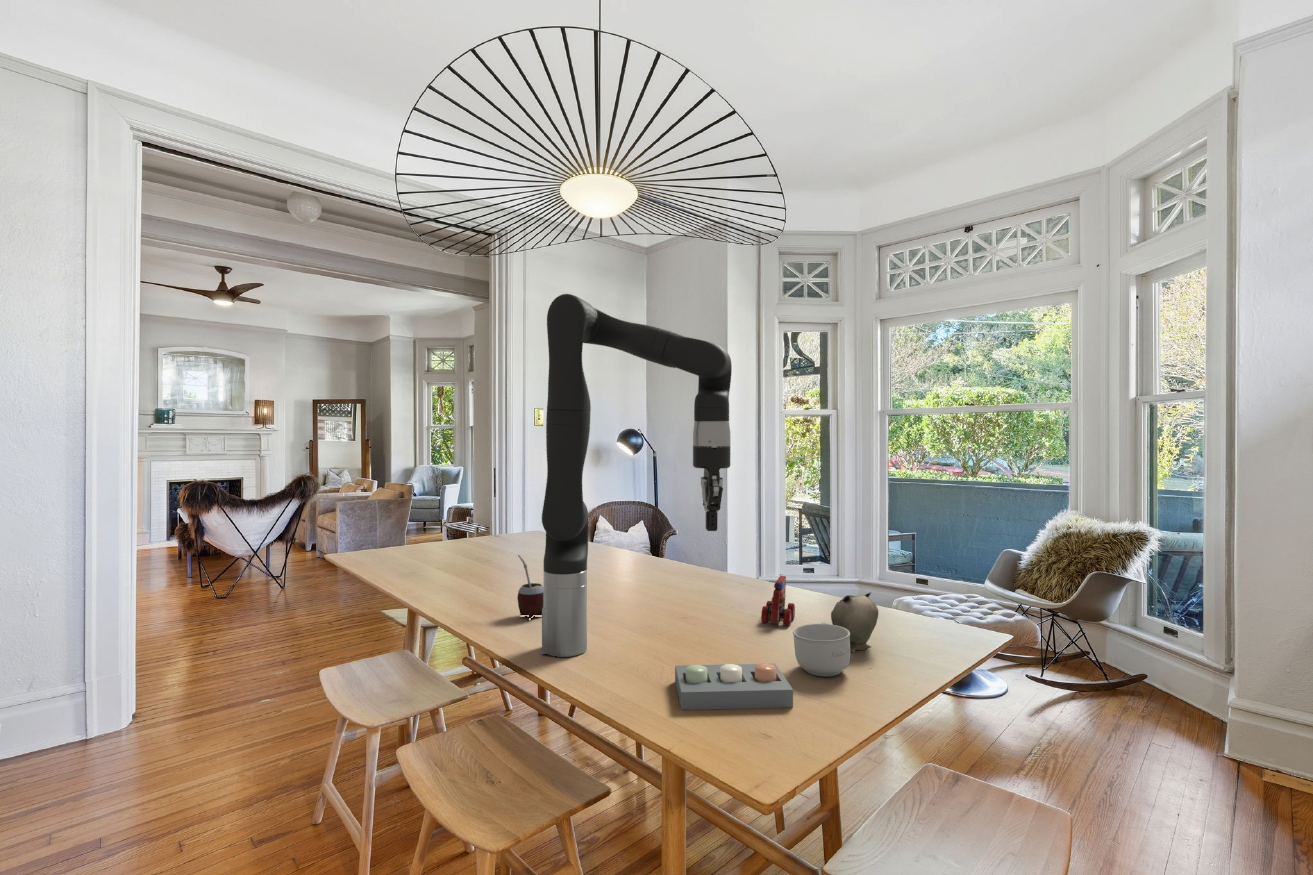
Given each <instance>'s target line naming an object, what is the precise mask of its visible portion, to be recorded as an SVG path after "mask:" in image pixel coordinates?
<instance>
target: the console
mask: <svg viewBox="0 0 1313 875" xmlns="http://www.w3.org/2000/svg"><path fill="white" fill-rule="evenodd" d="M757 664H758V663H738V664H737V663H735V664H734V665H738V666H740V667H741V668H742V682H720V668H721V666H722V665H723V664H701V665H702V666H705V667H706V668H707V683H686V667H688V666H690V665H691V664H688V665H687V664H686V665H685V664H683V665H682V664H681V665H680V664H679V665H674V671H675V672H674V681H675V687H676V691H677V696H678V701H679V705H680V710H681V711H696V710H697V711H701V710H702V711H703V710H704V711H705V710H741V709H743V710H744V709H775V708H780V709H781V708H793V707H794V689H793V687H792V686H791V685H790V683H789V681H788V680H787V678H786V677H785V675H784V674H783V673H782V671H781V669H780V668H779V666H778V665H777V664H776V663H771V664H772V665H774V666H775V667H776V681H764V682H756V681H755V665H757Z"/></svg>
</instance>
